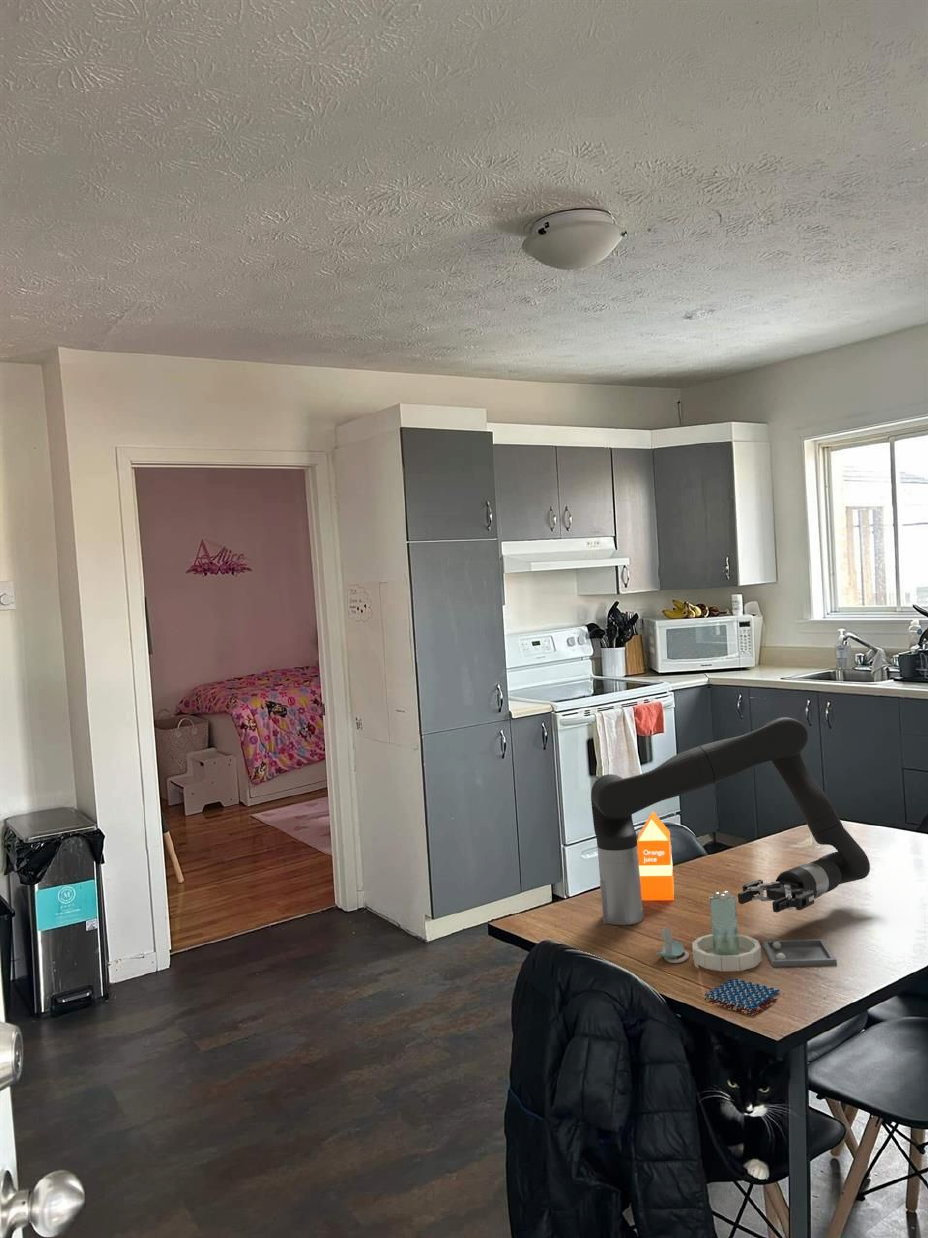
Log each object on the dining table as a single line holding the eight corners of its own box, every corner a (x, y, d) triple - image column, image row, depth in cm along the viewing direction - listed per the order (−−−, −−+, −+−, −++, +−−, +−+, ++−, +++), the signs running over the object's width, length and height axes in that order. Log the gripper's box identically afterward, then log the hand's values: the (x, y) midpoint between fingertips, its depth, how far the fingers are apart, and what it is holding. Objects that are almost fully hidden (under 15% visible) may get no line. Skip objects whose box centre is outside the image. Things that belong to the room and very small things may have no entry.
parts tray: (772, 970, 187) (771, 957, 186) (763, 949, 197) (762, 937, 197) (837, 969, 185) (836, 955, 185) (824, 947, 196) (823, 935, 196)
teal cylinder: (715, 962, 191) (710, 896, 190) (712, 952, 196) (707, 888, 195) (741, 961, 190) (736, 895, 190) (738, 952, 195) (733, 888, 195)
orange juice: (641, 900, 235) (634, 819, 235) (643, 889, 243) (637, 810, 243) (674, 900, 233) (667, 818, 233) (675, 888, 242) (668, 809, 241)
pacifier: (694, 955, 198) (667, 950, 202) (693, 925, 198) (665, 920, 202) (680, 968, 192) (652, 962, 196) (679, 937, 192) (651, 932, 196)
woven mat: (754, 1020, 168) (753, 1009, 168) (702, 1005, 175) (701, 994, 175) (785, 999, 175) (784, 988, 175) (733, 986, 182) (732, 975, 182)
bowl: (697, 976, 187) (695, 958, 187) (691, 951, 200) (689, 934, 200) (766, 974, 185) (764, 956, 185) (755, 949, 198) (754, 932, 198)
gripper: (773, 861, 214) (727, 879, 204) (830, 872, 203) (784, 892, 193) (776, 894, 214) (729, 914, 205) (833, 908, 203) (787, 929, 193)
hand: (756, 903), depth 199 cm, fingers open, 8 cm apart
